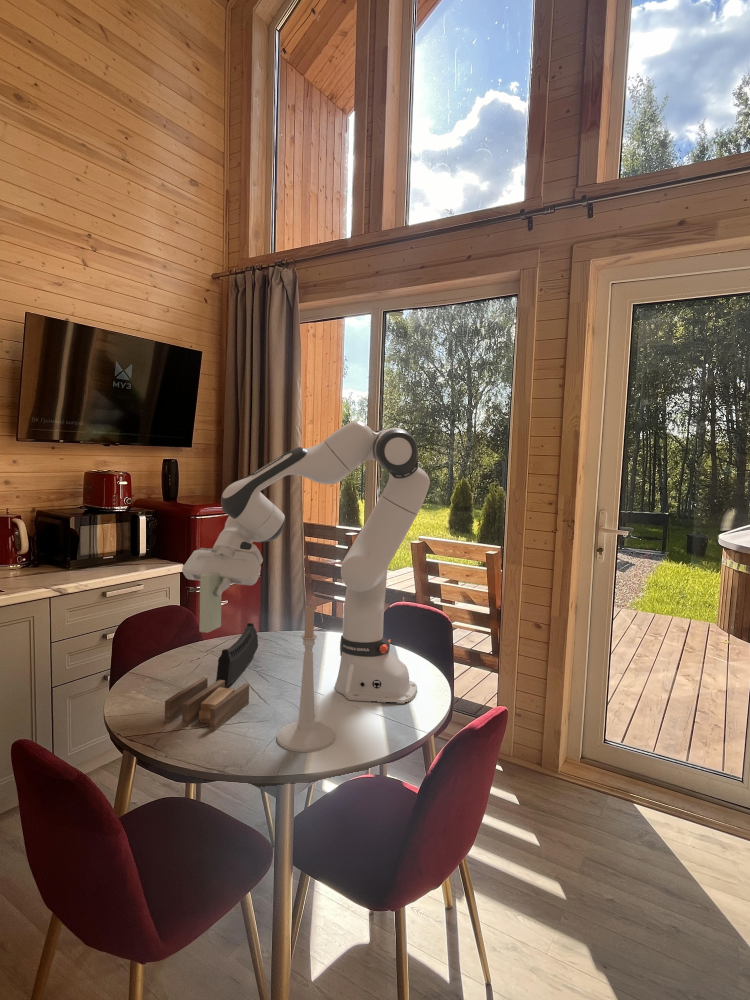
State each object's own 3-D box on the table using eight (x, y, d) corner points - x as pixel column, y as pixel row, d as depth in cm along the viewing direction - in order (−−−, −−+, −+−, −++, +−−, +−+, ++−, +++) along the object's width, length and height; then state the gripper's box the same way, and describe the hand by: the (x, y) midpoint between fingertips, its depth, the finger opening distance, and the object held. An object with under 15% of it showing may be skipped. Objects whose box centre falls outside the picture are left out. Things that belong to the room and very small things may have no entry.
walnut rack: (248, 703, 144) (249, 684, 144) (214, 730, 129) (215, 709, 129) (203, 696, 148) (203, 677, 148) (164, 722, 132) (165, 701, 132)
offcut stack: (234, 706, 143) (234, 688, 143) (215, 725, 132) (215, 706, 132) (218, 704, 143) (219, 687, 143) (198, 724, 133) (199, 705, 132)
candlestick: (273, 727, 132) (277, 598, 130) (328, 722, 135) (332, 596, 134) (280, 754, 120) (284, 612, 118) (340, 748, 123) (345, 610, 121)
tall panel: (220, 626, 147) (221, 572, 146) (207, 632, 141) (209, 576, 140) (212, 625, 147) (213, 571, 147) (199, 631, 142) (200, 575, 141)
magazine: (225, 661, 148) (255, 602, 177) (212, 661, 149) (245, 602, 177) (229, 715, 154) (258, 649, 182) (218, 714, 154) (248, 649, 183)
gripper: (191, 540, 152) (168, 583, 143) (261, 545, 147) (241, 591, 138) (200, 554, 157) (178, 597, 148) (268, 560, 151) (250, 605, 143)
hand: (209, 594), depth 143 cm, fingers closed on tall panel, 2 cm apart
